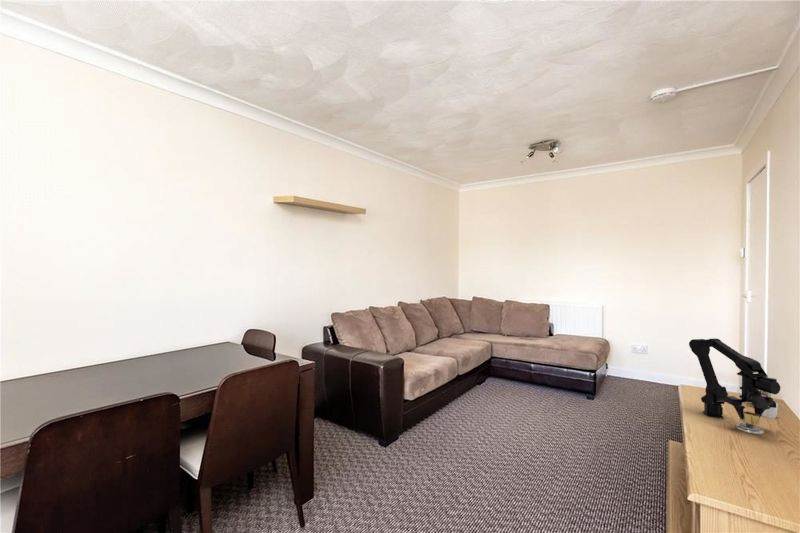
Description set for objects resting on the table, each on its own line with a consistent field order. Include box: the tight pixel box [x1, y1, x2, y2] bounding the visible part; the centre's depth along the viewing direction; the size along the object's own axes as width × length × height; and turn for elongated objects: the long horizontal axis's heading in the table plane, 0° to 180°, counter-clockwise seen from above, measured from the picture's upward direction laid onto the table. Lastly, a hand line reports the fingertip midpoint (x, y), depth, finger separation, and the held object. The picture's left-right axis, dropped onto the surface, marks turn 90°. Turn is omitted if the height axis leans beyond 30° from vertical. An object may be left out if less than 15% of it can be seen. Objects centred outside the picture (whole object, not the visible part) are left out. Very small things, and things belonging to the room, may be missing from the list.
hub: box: [734, 422, 765, 435], centre depth 175 cm, size 10×10×6 cm
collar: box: [739, 410, 760, 426], centre depth 175 cm, size 6×6×4 cm
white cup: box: [761, 402, 779, 419], centre depth 191 cm, size 7×7×7 cm
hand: (749, 419), depth 175 cm, fingers closed on collar, 6 cm apart
